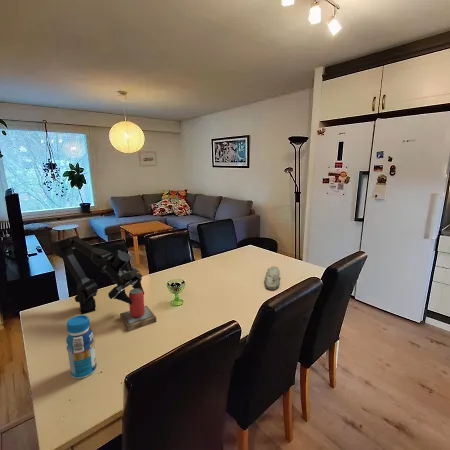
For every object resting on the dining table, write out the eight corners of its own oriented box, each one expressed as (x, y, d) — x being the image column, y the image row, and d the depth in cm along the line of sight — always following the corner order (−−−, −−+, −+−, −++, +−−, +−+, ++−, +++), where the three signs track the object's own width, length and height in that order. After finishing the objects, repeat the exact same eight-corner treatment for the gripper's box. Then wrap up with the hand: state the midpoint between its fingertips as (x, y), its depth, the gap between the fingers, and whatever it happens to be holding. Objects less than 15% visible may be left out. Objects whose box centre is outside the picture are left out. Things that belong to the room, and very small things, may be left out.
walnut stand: (128, 331, 117) (127, 325, 116) (120, 318, 127) (119, 312, 127) (156, 321, 124) (156, 316, 124) (146, 310, 135) (146, 304, 134)
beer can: (136, 309, 130) (135, 286, 127) (147, 312, 127) (146, 289, 124) (127, 316, 124) (125, 292, 121) (138, 319, 121) (136, 295, 119)
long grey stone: (280, 272, 189) (266, 271, 192) (280, 264, 189) (266, 264, 191) (280, 291, 156) (263, 290, 158) (280, 282, 155) (263, 281, 157)
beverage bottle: (64, 375, 92) (57, 323, 88) (85, 359, 100) (79, 311, 96) (83, 382, 89) (76, 329, 85) (102, 365, 97) (97, 316, 93)
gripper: (111, 271, 113) (135, 298, 112) (138, 257, 130) (158, 281, 129) (98, 285, 117) (121, 312, 116) (125, 270, 134) (145, 293, 133)
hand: (138, 299), depth 123 cm, fingers open, 9 cm apart
